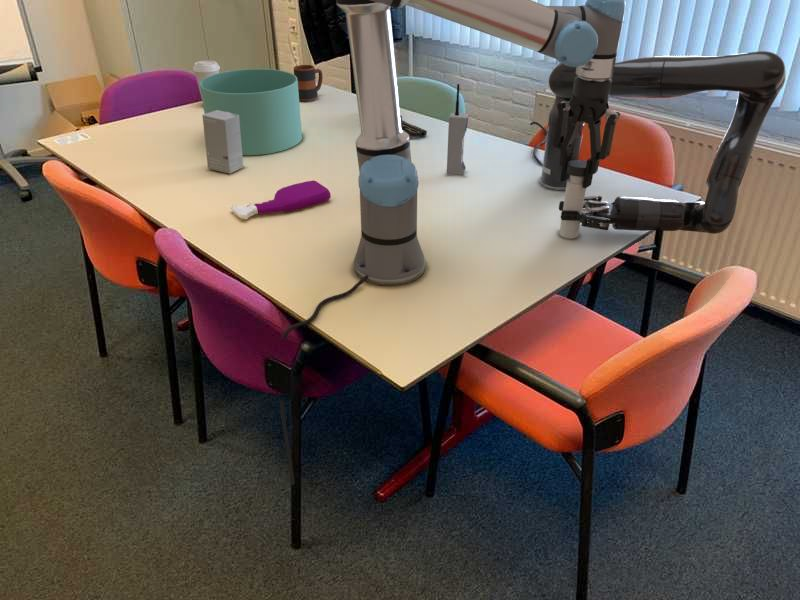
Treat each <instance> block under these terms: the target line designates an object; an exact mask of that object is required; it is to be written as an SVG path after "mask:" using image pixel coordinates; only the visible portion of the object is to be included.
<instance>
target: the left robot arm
mask: <svg viewBox="0 0 800 600" xmlns="http://www.w3.org/2000/svg"><path fill="white" fill-rule="evenodd" d="M335 2H336V3H335V4H336V6H337V7H338V8H339V9H341V10H342V11H343V12H344V13H345V19H346V26H347V27H346V28H347V33H348V42H349V48H350V57H351V64H352V72H353V81H354V88H355V95H356V102H357V103H356V104H357V111H358V119H359V124H360V125H359V126H360V134H359V136H358V137H356V139H355V149H356V150H355V151H356V156H357V165H358V172H359V175H358V178H357V179H358V188H359V206H360V207H359V208H360V211H359V212H360V239H359V242H358V247H357V249H356V252H355V256H354V259H353V270H354V273H355V275H356V276H357V277H358V278H359V279H360V280H359V281H357V282H356V283H355V285H353V287H351V288H350V289H349V290H347V291H345V292H342V293H340V294H336V295H332V296H328V297H327V298H324V299H323V300H321V301H320V302H319V304H317V306H316V308H315V310H314V311H313V313H312V315H311V316H310V317H309V318H308V319H306V320H302V321H300V322H296V323H294V324H292V325H289V327H287V328H286V329H285V331H284V332H283V333H282V335H281V337H280V340H285V339H286V338H287V336H288V335H289V333H291V331H293V330H295V329H297V328H300V327H303V326H307V325H308V324H310V323H311V322H313V321H314V320H315V319H316V318H317V316H318V314H319V312H320V310H321V308H322V307H323V306H324V305H325V304H327V303H329V302H331V301H334V300H337V299H341V298H344V297H347V296H349V295H351V294H352V293H354V292H355V291H356V290H357V289H358V288H359V287H360V286H361V285H362V284H364V282H366V283H369V284H370V285H371V284H372V285H376V286H382V287H395V286H402V285H406V284H410V283H413V282H415V281H417V280H418V279H420V278H421V276H423V274H424V273H425V270H426V261H425V255H424V252H423V250H422V247H421V244H420V241H419V238H418V188H419V184H420V183H419V182H420V181H419V175H418V169H417V167H416V165H415V164H414V163H413V162H412V150H411V141H410V135H409V134H408V133H406V132H405V131H404V130H402V128H401V119H400V115H401V110H400V98H399V89H398V88H399V87H398V77H397V69H396V68H397V66H396V57H395V56H396V55H395V47H394V35H393V25H392V14H391V8H395V9H398V10H399V9H402V8H403V7H406V6H408V7H410V8H413V9H417V10H418V11H422V12H424V13H428V14H431V15H433V16H435V17H439V18H442V19H444V20H447V21H450V22H453V23H455V24H458V25H461V26H463V27H466V28H469V29H472V30H476V31H478V32H480V33H484V34H486V35H490V36H492V37H495V38H496V39H500V40H503V41H505V42H508V43H511V44H515V45H518V46H520V47H522V48H526V49H528V50H531V51H534V52H536V53H539V54H541V55H544V56H547V57H550V58H552V59H555V60H556V61H558V62H559V64H560V63H561V64H564V65H567V66H569V67H576V74H577V75H578V76H576V77H575V79H574V86H573V92H572V93H573V96H572V98H571V99H570V101H562V102H560V103H558V104H557V108H558V120H557V127H556V133H555V140H554V147H555V148H559V149H560V150H561V156H560V165H562V173H561V179H560V181H562V182H564V181H565V180H567V179H569V174H568V173H567V172H566V170H567V164H568V162H569V161H571V160H572V157H573V151H571V150H570V151H569V149H571V148H572V147H571V146H572V144H573V141H574V139H575V136H576V134H577V132H578V129H579V127H580V124H581V123H582V122H585V123H586V124H587V128H588V130H589V144H590V145H589V146H590V157H588V158H587V160H586V162H587V164H586V170H585V176H584V181H583V187H582V188H586V189H588V188H589V187H590V186H592V183H593V176H594V175H595V174H597V172H599V166H600V160H605V159H606V158H607V159H608V157H610V155H611V150H612V145H613V139H614V134H615V129H616V124H617V122H618V120H619V119H620V117H621V113H620V112H619V111H613V110H612V109H610V105H609V99H610V96H609V95H610V89H611V84H612V80H611V79H610V78H611V77H612V76H613V74H614V68H615V63H617V62H616V61H617V55H618V50H619V45H620V39H621V35H622V30H623V25H624V23H625V13H626V4H627V2H626V0H586V1H585V3H584V5H571V6H570V5H545V4H542V3H539V2H536V1H534V0H335ZM570 107H571V110H572V112H573V114H574V115H573V118H572V120H571V125H570V127H569V130H568V132H567V135H566V137H565V133H566V127H567V121H568V114H569V110H570ZM604 115H605V121H606V122H605V125H604V130H603V136H602V135H601V125H602V118H603V117H604ZM601 136H602V137H601ZM279 409H280V418H281V424H282V432H283V438H284V444H285V449H286V456H287V462H288V470H289V478H290V484H291V485H292V486H293V485H295V475H294V474H295V473H294V467H293V466H294V465H293V461H292V453H291V448H290V447H291V446H290V441H289V435H288V428H287V421H286V413H285V405H284V399H279Z"/></svg>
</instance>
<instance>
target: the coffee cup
mask: <svg viewBox="0 0 800 600" xmlns="http://www.w3.org/2000/svg"><path fill="white" fill-rule="evenodd" d="M193 64H194V65H193V66H192V71H193V72H194V74H195V78H196V83H197V87H198V90H199V94H200V98H201V99H202V96H201V90H200V82H201V81H202V80H203V79H204V78H206V77H208V76H211V75H214V74H217V73H220V70H221V67H220V65H219V63H218V62H217V61H215V60H200V61H195V62H194V63H193Z"/></svg>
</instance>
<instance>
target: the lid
mask: <svg viewBox="0 0 800 600" xmlns="http://www.w3.org/2000/svg"><path fill="white" fill-rule="evenodd" d="M586 164H587V160H586V161H585V160H581V159H579V160H571V161H569V162H568V164H567V170H566V172H567V173H568V174H569V175H572V176H577V177H583V176H585V170H586Z"/></svg>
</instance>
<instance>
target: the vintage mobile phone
mask: <svg viewBox="0 0 800 600" xmlns="http://www.w3.org/2000/svg"><path fill="white" fill-rule="evenodd" d="M469 115H470V114H469V113H465V112H464V113H462V112H460V83H457V84H456V101H455V112H451V113H449V117H448V129H447V130H448V131H447V132H448V133H447V153H446V154H447V155H446V175H447V176H457V177H458V176H460V177H464V176H465V174H466V170H467V168H466V165H465V162H464V147H465V146H464V144H465V135H466V132H467V131H468V130H467V129H468V124H469Z"/></svg>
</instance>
